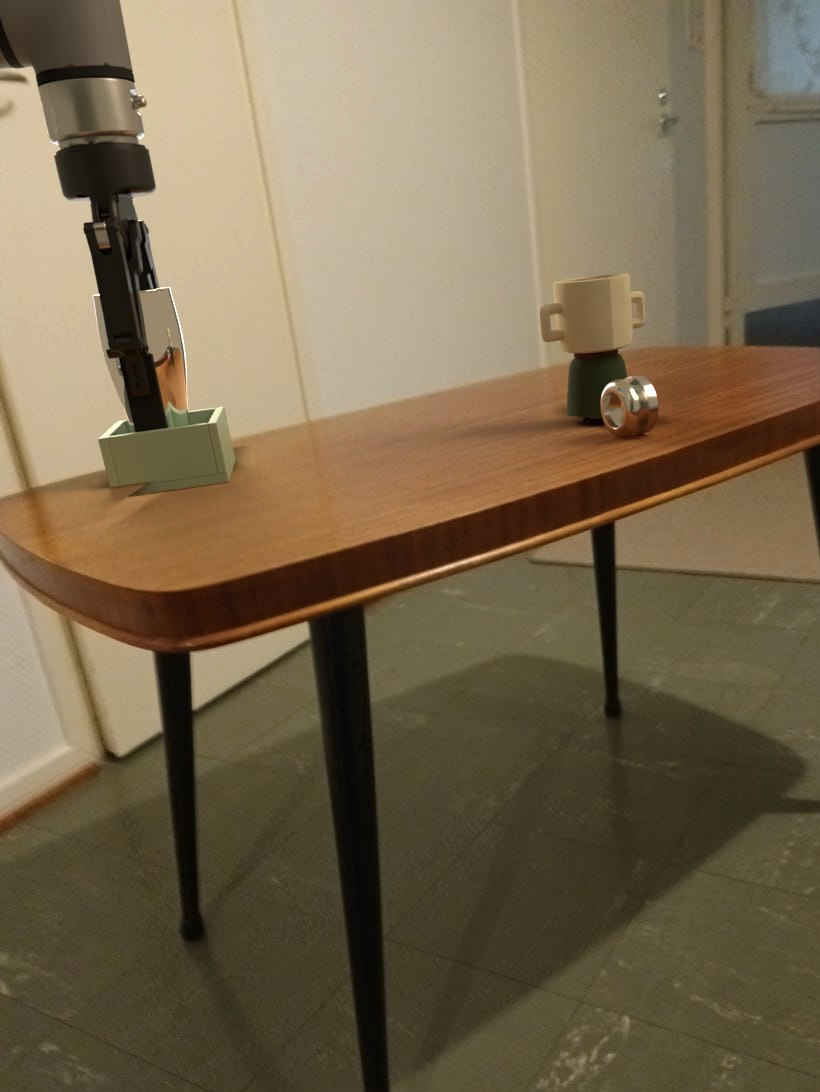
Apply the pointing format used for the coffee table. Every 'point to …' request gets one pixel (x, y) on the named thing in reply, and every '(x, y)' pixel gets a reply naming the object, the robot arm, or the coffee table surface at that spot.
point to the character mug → (592, 334)
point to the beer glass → (155, 354)
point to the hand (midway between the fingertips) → (160, 424)
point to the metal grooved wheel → (629, 406)
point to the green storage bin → (170, 454)
